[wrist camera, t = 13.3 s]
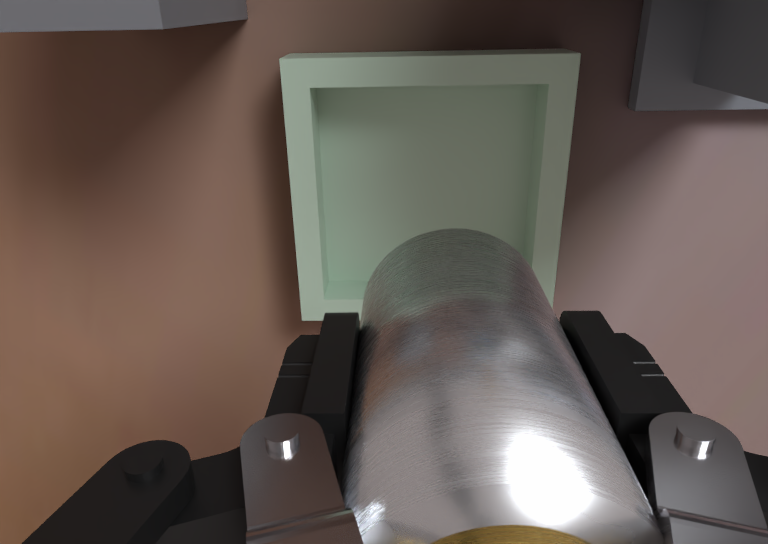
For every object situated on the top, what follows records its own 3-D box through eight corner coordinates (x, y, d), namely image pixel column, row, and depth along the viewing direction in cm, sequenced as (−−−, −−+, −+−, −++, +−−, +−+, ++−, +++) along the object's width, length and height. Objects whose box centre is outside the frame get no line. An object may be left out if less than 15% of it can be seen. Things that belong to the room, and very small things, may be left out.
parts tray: (309, 296, 27) (301, 320, 25) (289, 53, 23) (279, 58, 21) (539, 294, 27) (551, 319, 25) (564, 48, 23) (580, 53, 21)
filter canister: (365, 387, 16) (329, 793, 8) (358, 229, 14) (303, 544, 6) (534, 386, 15) (679, 799, 7) (549, 227, 14) (765, 545, 6)
